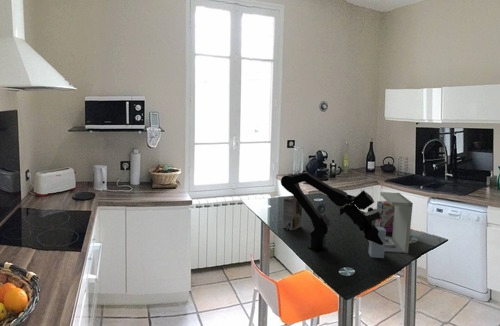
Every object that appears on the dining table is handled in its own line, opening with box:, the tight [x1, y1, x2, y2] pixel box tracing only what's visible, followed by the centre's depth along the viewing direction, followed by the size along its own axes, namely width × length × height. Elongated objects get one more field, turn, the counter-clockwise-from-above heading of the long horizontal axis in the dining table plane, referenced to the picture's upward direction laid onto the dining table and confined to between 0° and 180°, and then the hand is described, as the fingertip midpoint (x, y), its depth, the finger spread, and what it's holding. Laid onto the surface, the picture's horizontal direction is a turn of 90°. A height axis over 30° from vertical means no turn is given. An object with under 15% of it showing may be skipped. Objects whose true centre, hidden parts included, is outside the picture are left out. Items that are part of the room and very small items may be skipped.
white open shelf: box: [367, 191, 414, 254], centre depth 177 cm, size 15×20×24 cm
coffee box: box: [282, 196, 303, 231], centre depth 199 cm, size 9×6×16 cm
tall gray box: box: [368, 227, 387, 259], centre depth 164 cm, size 6×5×12 cm
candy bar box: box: [374, 200, 395, 234], centre depth 196 cm, size 11×5×16 cm, turn 108°
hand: (379, 240), depth 163 cm, fingers open, 9 cm apart
